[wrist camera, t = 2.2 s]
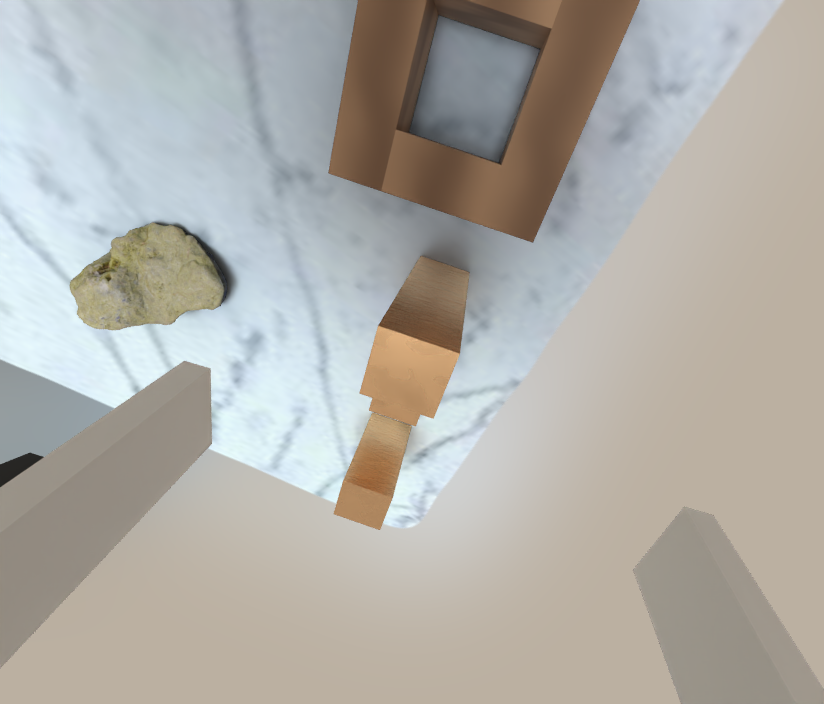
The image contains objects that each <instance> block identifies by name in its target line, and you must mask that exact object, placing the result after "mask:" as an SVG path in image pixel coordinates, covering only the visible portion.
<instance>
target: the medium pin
mask: <svg viewBox="0 0 824 704" xmlns="http://www.w3.org/2000/svg"><path fill="white" fill-rule="evenodd" d="M410 430H411V426H410V425H407V424H404V423H401V422H399V421H396V420H393V419H390V418H387V417H384V416H381V415H378V414H375V413H372V415H371V417H370V420H369V422H368V424H367V427H366V429H365V431H364V434H363V436H362V438H361V441H360V443H359V445H358V448H357V450H356V452H355V455H354V457H353V459H352V462H351V464H350V466H349V469H348V471H347V473H346V476H345V478H344V480H343V484H342V487H341V490H340V494H339V497H338V501H337V504H336V508H335V511H334V514H335V515H338V516H341V517H344V518H347V519H349V520H353V521H355V522H358V523H361V524H364V525H367V526H370V527H373V528H375V529H378V530H380V528H381V526H382V523H383V521H384V518H385V516H386V513H387V511H388V508H389V506H390V503H391V501H392V498H393V494H394V490H395V487H396V483H397V479H398V475H399V472H400V468H401V464H402V460H403V457H404V453H405V449H406V445H407V441H408V438H409V434H410Z"/></svg>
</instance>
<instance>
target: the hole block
mask: <svg viewBox="0 0 824 704" xmlns="http://www.w3.org/2000/svg"><path fill="white" fill-rule="evenodd" d="M639 1H640V0H358V4H357V10H356V16H355V22H354V27H353V33H352V39H351V45H350V51H349V56H348V62H347V68H346V74H345V80H344V85H343V91H342V97H341V103H340V108H339V114H338V120H337V126H336V132H335V137H334V143H333V149H332V155H331V161H330V166H329V172H328V173H329V174H332V175H335V176H338V177H341V178H344V179H347V180H350V181H353V182H356V183H359V184H362V185H365V186H368V187H370V188H373V189H376V190H379V191H382V192H385V193H388V194H391V195H394V196H397V197H400V198H403V199H406V200H409V201H412V202H415V203H418V204H421V205H424V206H426V207H429V208H432V209H435V210H438V211H441V212H444V213H447V214H450V215H453V216H456V217H459V218H462V219H465V220H468V221H471V222H474V223H477V224H480V225H483V226H485V227H488V228H491V229H494V230H497V231H500V232H503V233H506V234H509V235H512V236H515V237H518V238H521V239H524V240H527V241H530V242H533V241H534V239H535V237H536V234H537V232H538V230H539V228H540V225H541V223H542V221H543V219H544V216H545V214H546V212H547V210H548V207H549V205H550V203H551V201H552V198H553V196H554V194H555V191H556V189H557V187H558V185H559V182H560V180H561V178H562V176H563V173H564V171H565V169H566V167H567V164H568V162H569V160H570V158H571V155H572V153H573V151H574V148H575V146H576V144H577V142H578V139H579V137H580V135H581V133H582V130H583V128H584V126H585V124H586V121H587V119H588V117H589V115H590V112H591V110H592V108H593V105H594V103H595V101H596V99H597V96H598V94H599V92H600V90H601V87H602V85H603V83H604V81H605V78H606V76H607V74H608V72H609V69H610V67H611V65H612V62H613V60H614V58H615V56H616V53H617V51H618V49H619V47H620V44H621V42H622V40H623V38H624V35H625V33H626V31H627V29H628V26H629V24H630V22H631V19H632V17H633V15H634V13H635V10H636V8H637V6H638V4H639ZM438 15H440V16H443V17H446V18H449V19H452V20H455V21H458V22H461V23H464V24H467V25H470V26H473V27H476V28H479V29H482V30H485V31H488V32H491V33H494V34H497V35H500V36H503V37H506V38H509V39H512V40H515V41H518V42H521V43H524V44H527V45H530V46H533V47H536V48H539V49H540V52H539V54H538V57H537V60H536V63H535V65H534V68H533V71H532V74H531V76H530V79H529V82H528V85H527V87H526V90H525V93H524V96H523V98H522V101H521V104H520V107H519V109H518V112H517V115H516V118H515V120H514V123H513V126H512V129H511V131H510V134H509V137H508V140H507V142H506V145H505V148H504V151H503V153H502V156H501V159H500V162H499V163H497V162H494V161H491V160H488V159H485V158H482V157H479V156H476V155H473V154H470V153H467V152H464V151H461V150H459V149H456V148H453V147H450V146H447V145H444V144H441V143H438V142H435V141H432V140H429V139H426V138H423V137H420V136H417V135H414V134H411V133H409V130H410V126H411V122H412V118H413V114H414V110H415V106H416V102H417V98H418V94H419V90H420V86H421V83H422V79H423V75H424V71H425V67H426V63H427V59H428V55H429V51H430V47H431V43H432V39H433V35H434V31H435V27H436V23H437V19H438Z"/></svg>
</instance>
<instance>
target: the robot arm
mask: <svg viewBox="0 0 824 704" xmlns="http://www.w3.org/2000/svg"><path fill="white" fill-rule="evenodd" d="M211 444H212V424H211V370H210V368H207V367H203V366H200V365H197V364H193V363H190V362H186V361H183V362H182V363H180V364H179V365H178V366H176V367H175V368H173V369H172V370H170V371H169V372H167V373H166V374H164V375H163V376H162V377H160V378H159V379H157V380H156V381H154V382H153V383H151V384H150V385H148V386H147V387H146V388H144V389H143V390H141V391H140V392H138V393H137V394H135V395H134V396H132V397H131V398H130V399H128V400H127V401H125V402H124V403H122V404H121V405H119V406H118V407H116V408H115V409H114V410H112V411H111V412H109V413H108V414H106V415H105V416H103V417H102V418H101V419H99V420H98V421H96V422H95V423H93V424H92V425H90V426H89V427H87V428H86V429H85V430H83V431H82V432H80V433H79V434H77V435H76V436H74V437H73V438H72V439H70V440H69V441H67V442H66V443H64V444H63V445H61V446H60V447H58V448H57V449H56V450H54V451H53V452H51V453H50V454H48V455H47V456H45V457H42V456H39V455H36V454H32V453H28V454H25V455H23V456H20V457H18V458H15V459H13V460H10V461H8V462H5V463H3V464H0V668H1V667H2V666H3V665H4V664H5V663H6V662H7V661H8V660H9V659H10V657H11V656H12V655H13V654H14V653H15V652H16V651H17V650H18V649H19V648H20V647H21V646H22V645H23V644H24V643H25V642H26V640H27V639H28V638H29V637H30V636H31V635H32V634H33V633H34V632H35V631H36V630H37V629H38V628H39V627H40V626H41V624H42V623H43V622H44V621H45V620H46V619H47V618H48V617H49V616H50V615H51V614H52V613H53V612H54V611H55V610H56V608H58V607H59V605H60V604H61V603H62V602H63V601H64V600H65V599H66V598H67V597H68V596H69V595H70V594H71V593H72V592H73V591H74V590H75V588H76V587H77V586H78V585H79V584H80V583H81V582H82V581H83V580H84V579H85V578H86V577H87V576H88V574H90V572H91V571H92V570H93V569H94V568H95V567H96V566H97V565H98V564H99V563H100V562H101V561H102V560H103V559H104V558H105V557H106V555H107V554H108V553H109V552H110V551H111V550H112V549H113V548H114V547H115V546H116V545H117V544H118V543H119V542H120V541H121V539H123V537H124V536H125V535H126V534H127V533H128V532H129V531H130V530H131V529H132V528H133V527H134V526H135V525H136V524H137V523H138V522H139V520H140V519H141V518H142V517H143V516H144V515H145V514H146V513H147V512H148V511H149V510H150V509H151V508H152V507H153V506H154V504H156V502H157V501H158V500H159V499H160V498H161V497H162V496H163V495H164V494H165V493H166V492H167V491H168V490H169V489H170V488H171V486H172V485H173V484H174V483H175V482H176V481H177V480H178V479H179V478H180V477H181V476H182V475H183V474H184V473H185V472H186V471H187V470H188V468H189V467H190V466H191V465H192V464H193V463H194V462H195V461H196V460H197V459H198V458H199V457H200V456H201V455H202V454H203V453H204V451H205V450H206V449H207V448H208V447H209V446H210V445H211ZM633 571H634V574H635V576H636V579H637V582H638V585H639V588H640V591H641V593H642V596H643V599H644V601H645V604H646V607H647V610H648V613H649V616H650V618H651V621H652V624H653V627H654V630H655V632H656V635H657V638H658V640H659V644H660V647H661V649H662V652H663V655H664V658H665V661H666V663H667V666H668V669H669V672H670V674H671V677H672V680H673V683H674V686H675V688H676V691H677V694H678V697H679V700H680V702H681V704H824V689H823V687H822V685H821V684H820V682H819V681H818V679H817V678H816V676H815V674H814V673H813V672H812V670H811V668H810V666H809V665H808V663H807V662H806V660H805V659H804V657H803V655H802V654H801V652H800V651H799V649H798V648H797V646H796V644H795V643H794V641H793V640H792V638H791V636H790V635H789V634H788V632H787V630H786V629H785V627H784V625H783V624H782V622H781V621H780V619H779V618H778V616H777V614H776V613H775V611H774V610H773V608H772V607H771V605H770V603H769V602H768V600H767V599H766V597H765V596H764V594H763V592H762V591H761V589H760V588H759V586H758V585H757V583H756V581H755V580H754V578H753V577H752V575H751V573H750V572H749V570H748V569H747V567H746V566H745V564H744V562H743V561H742V560H741V558H740V556H739V555H738V553H737V551H736V550H735V548H734V547H733V545H732V544H731V542H730V540H729V539H728V538H727V536H726V534H725V533H724V531H723V529H722V528H721V526H720V525H719V524H718V522H717V520H716V519H715V517H714V515H712V514H708V513H705V512H701V511H698V510H694V509H691V508H687V507H684V508H683V509H682V510H681V511H680V512H679V514H678V515H677V516H676V517H675V519H674V520H673V521H672V522H671V524H670V525H669V526H668V527H667V528H666V530H665V531H664V532H663V533H662V535H661V536H660V537H659V538H658V540H657V541H656V542H655V543H654V545H653V546H652V547H651V548H650V549H649V551H648V552H647V553H646V554H645V556H644V557H643V558H642V559H641V561H640V562H639V563H638V564H637V565H636V567H635V568H634V569H633Z"/></svg>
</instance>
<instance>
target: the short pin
mask: <svg viewBox="0 0 824 704" xmlns="http://www.w3.org/2000/svg"><path fill="white" fill-rule="evenodd" d="M369 411H372V412H375V413H378V414H381V415H384V416H387V417H390V418H393V419H396V420H398V421H401V422H404V423H407V424H410V425H413V426H416V424H417V422H418V419H419V416H420V414H418V413H415V412H412V411H409V410H407V409H404V408H401V407H398V406H395V405H392V404H389V403H386V402H383V401H380V400H377V399H375V398H372V402H371V405H370V408H369Z"/></svg>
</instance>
